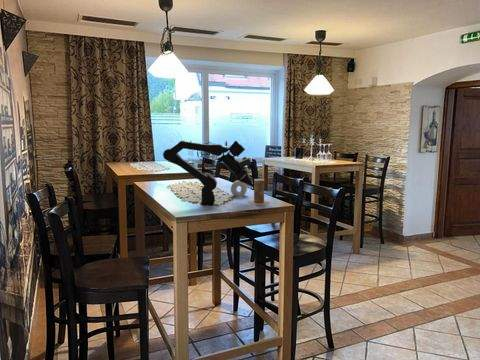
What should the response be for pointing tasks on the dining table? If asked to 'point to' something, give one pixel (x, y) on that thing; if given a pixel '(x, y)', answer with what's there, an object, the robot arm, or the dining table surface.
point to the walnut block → (258, 190)
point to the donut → (234, 188)
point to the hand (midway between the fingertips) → (252, 184)
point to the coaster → (258, 203)
